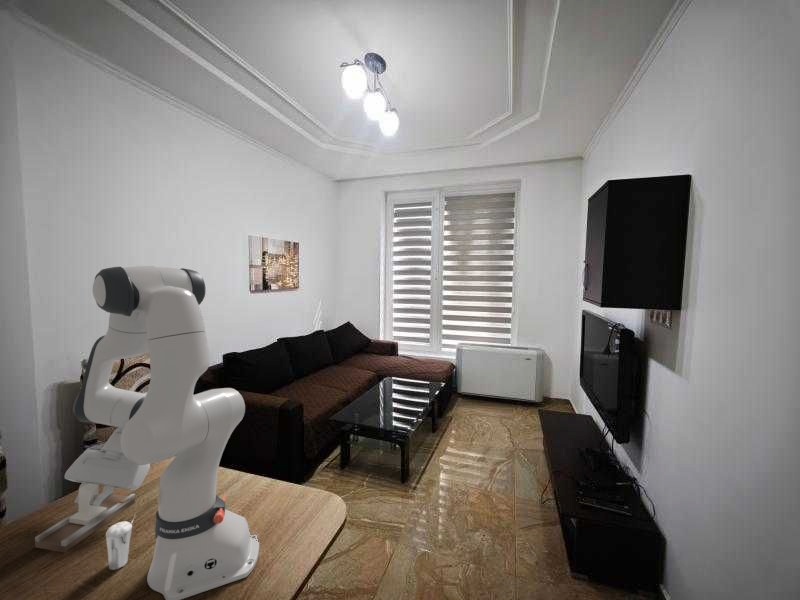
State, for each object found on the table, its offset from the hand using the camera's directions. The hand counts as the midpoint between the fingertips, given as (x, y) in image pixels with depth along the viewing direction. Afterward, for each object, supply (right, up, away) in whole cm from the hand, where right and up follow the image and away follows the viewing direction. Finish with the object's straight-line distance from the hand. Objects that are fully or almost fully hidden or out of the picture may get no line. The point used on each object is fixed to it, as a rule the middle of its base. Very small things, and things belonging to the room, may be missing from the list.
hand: (86, 504), depth 86 cm
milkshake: (+17, -7, -10) cm, 21 cm away
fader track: (0, -6, +1) cm, 6 cm away
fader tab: (0, -4, +1) cm, 4 cm away
